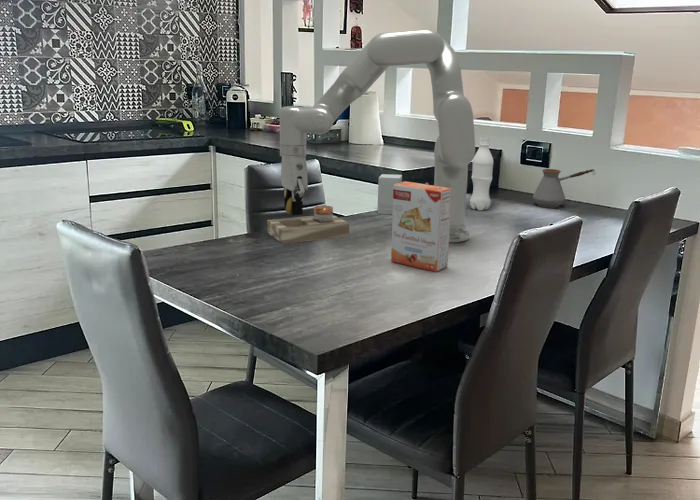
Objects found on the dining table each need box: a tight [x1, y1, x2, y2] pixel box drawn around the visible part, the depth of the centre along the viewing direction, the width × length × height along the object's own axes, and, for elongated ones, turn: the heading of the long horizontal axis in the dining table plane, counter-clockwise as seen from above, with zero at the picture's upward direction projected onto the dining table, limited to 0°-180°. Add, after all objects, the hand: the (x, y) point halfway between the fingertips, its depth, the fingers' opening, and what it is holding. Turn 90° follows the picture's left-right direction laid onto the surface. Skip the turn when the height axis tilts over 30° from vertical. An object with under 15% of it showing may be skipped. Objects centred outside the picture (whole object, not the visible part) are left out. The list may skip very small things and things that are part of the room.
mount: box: [266, 214, 350, 245], centre depth 203 cm, size 13×21×4 cm, turn 116°
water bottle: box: [469, 136, 494, 211], centre depth 237 cm, size 7×7×25 cm
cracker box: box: [390, 181, 452, 273], centre depth 173 cm, size 14×6×21 cm, turn 53°
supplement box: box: [376, 173, 403, 216], centre depth 232 cm, size 7×7×13 cm
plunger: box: [313, 204, 334, 223], centre depth 204 cm, size 6×6×4 cm
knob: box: [285, 197, 293, 215], centre depth 199 cm, size 5×5×5 cm
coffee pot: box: [532, 168, 596, 209], centre depth 242 cm, size 21×12×15 cm, turn 51°
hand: (293, 211), depth 200 cm, fingers closed on knob, 5 cm apart
